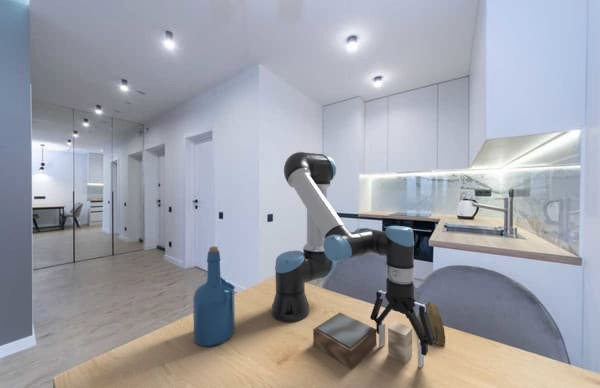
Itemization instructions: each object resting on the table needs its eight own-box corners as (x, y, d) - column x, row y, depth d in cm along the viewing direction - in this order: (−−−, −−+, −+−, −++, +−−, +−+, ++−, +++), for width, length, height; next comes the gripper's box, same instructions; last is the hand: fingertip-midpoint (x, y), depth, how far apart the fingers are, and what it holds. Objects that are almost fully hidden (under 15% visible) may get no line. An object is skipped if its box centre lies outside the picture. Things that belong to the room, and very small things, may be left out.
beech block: (388, 354, 67) (388, 328, 66) (395, 346, 70) (395, 321, 70) (405, 364, 63) (405, 335, 63) (412, 354, 66) (412, 328, 66)
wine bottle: (199, 354, 67) (198, 254, 67) (188, 333, 78) (187, 246, 77) (242, 335, 76) (241, 247, 76) (227, 319, 86) (226, 240, 86)
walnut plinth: (313, 344, 71) (313, 328, 71) (339, 326, 81) (339, 311, 81) (351, 369, 61) (351, 350, 61) (376, 344, 71) (376, 328, 71)
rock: (456, 342, 68) (448, 320, 77) (437, 318, 69) (431, 299, 78) (424, 354, 72) (420, 332, 81) (406, 331, 73) (404, 312, 82)
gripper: (358, 272, 72) (359, 341, 72) (441, 296, 55) (441, 385, 56) (370, 267, 77) (370, 331, 77) (449, 287, 61) (449, 368, 61)
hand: (400, 354), depth 66 cm, fingers open, 10 cm apart
